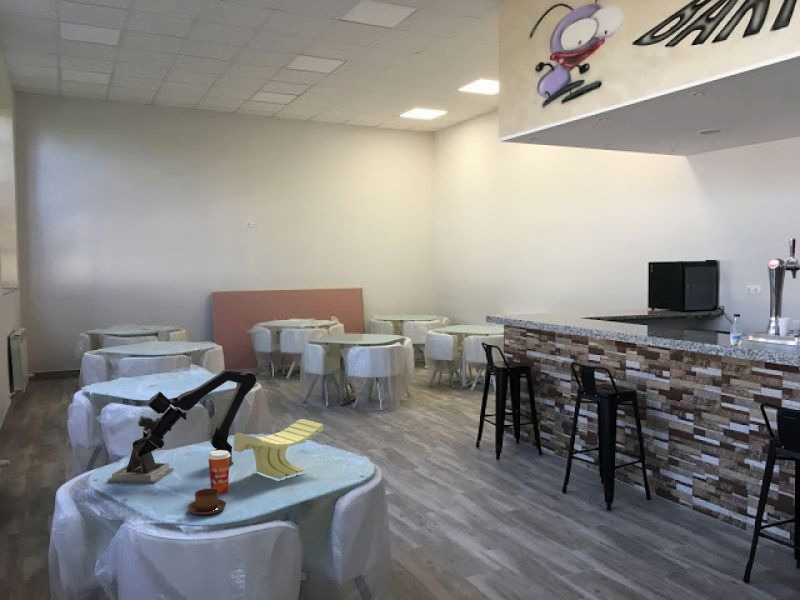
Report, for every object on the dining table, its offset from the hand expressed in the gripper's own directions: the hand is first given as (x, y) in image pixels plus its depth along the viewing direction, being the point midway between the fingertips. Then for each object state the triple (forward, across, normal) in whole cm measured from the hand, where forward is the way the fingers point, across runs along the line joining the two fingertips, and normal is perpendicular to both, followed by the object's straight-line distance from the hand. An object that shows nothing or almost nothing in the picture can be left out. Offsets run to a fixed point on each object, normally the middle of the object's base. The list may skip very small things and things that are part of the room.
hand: (137, 453), depth 252 cm
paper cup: (-10, +31, +24) cm, 40 cm away
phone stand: (+4, 0, +6) cm, 7 cm away
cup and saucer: (-5, +47, +18) cm, 51 cm away
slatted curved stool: (-28, +19, +42) cm, 54 cm away
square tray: (+5, 0, +7) cm, 9 cm away
